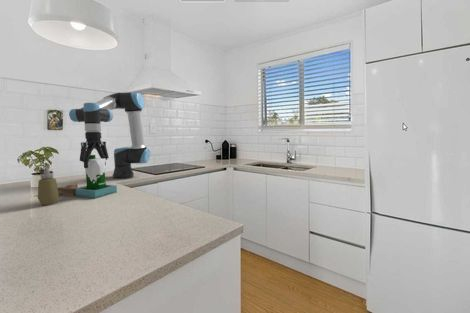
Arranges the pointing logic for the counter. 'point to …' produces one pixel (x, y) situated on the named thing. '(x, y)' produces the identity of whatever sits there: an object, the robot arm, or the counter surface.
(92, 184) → the soya milk
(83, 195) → the tray
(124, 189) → the counter surface
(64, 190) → the dock
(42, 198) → the squeeze bottle
